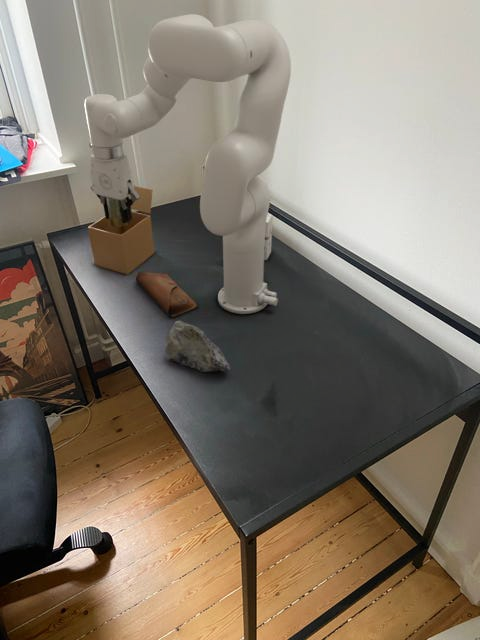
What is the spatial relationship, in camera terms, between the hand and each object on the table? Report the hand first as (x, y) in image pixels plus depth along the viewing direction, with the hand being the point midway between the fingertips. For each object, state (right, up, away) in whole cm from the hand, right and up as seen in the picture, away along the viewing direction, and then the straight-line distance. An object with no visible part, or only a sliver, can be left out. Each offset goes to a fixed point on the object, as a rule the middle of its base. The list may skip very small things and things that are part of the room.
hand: (118, 218), depth 136 cm
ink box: (+36, -9, +9) cm, 38 cm away
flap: (+3, +6, +3) cm, 8 cm away
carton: (0, -10, +7) cm, 12 cm away
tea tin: (0, -1, +1) cm, 2 cm away
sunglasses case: (+14, -21, -7) cm, 26 cm away
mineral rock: (+23, -37, -27) cm, 51 cm away
